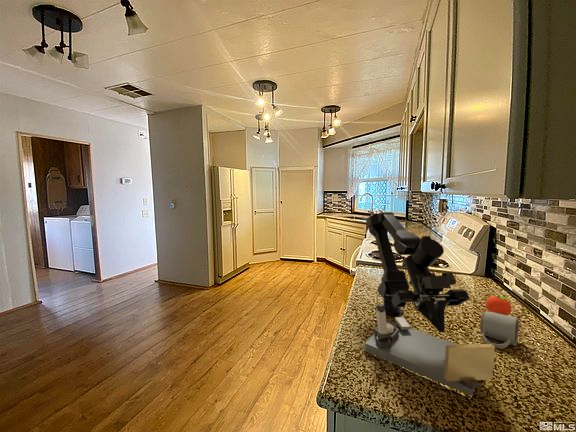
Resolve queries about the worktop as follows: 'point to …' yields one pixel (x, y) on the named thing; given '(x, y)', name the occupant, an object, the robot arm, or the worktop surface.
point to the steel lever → (382, 323)
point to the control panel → (415, 354)
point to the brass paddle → (469, 363)
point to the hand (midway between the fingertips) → (442, 332)
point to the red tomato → (498, 305)
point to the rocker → (402, 323)
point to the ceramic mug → (499, 328)
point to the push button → (390, 329)
